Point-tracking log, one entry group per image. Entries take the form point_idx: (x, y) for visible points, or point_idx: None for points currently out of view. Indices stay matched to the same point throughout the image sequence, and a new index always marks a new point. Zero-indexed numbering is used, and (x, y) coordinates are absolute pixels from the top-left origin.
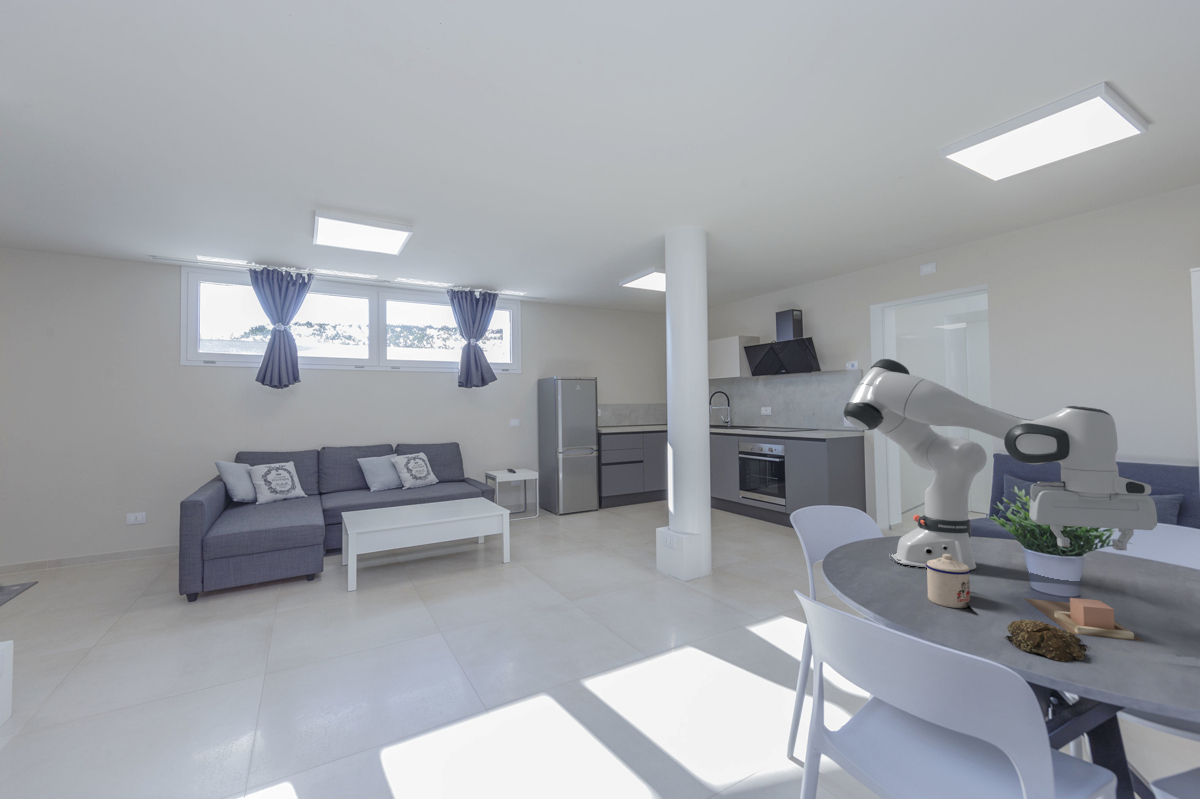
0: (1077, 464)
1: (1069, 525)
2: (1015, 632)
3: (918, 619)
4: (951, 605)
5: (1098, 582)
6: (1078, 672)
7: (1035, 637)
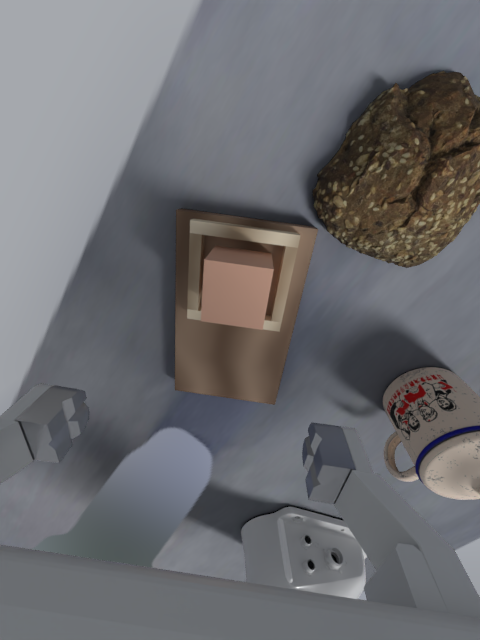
0: None
1: (395, 612)
2: None
3: None
4: (446, 370)
5: (93, 482)
6: None
7: None
